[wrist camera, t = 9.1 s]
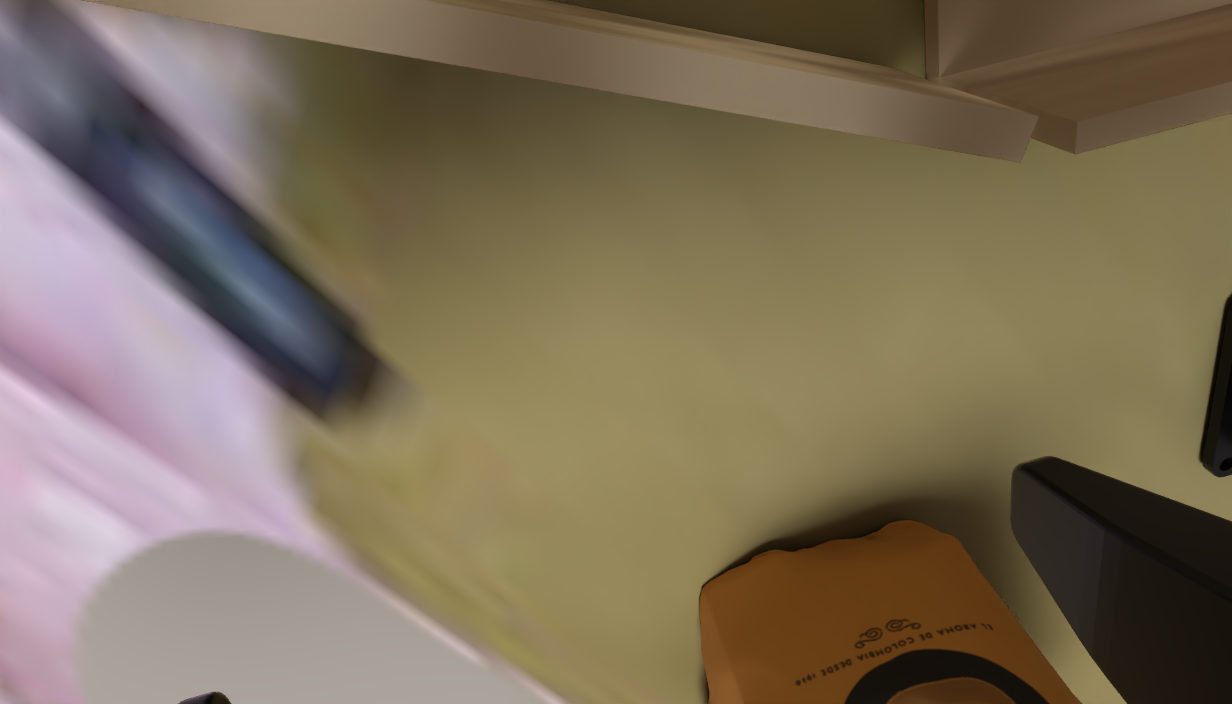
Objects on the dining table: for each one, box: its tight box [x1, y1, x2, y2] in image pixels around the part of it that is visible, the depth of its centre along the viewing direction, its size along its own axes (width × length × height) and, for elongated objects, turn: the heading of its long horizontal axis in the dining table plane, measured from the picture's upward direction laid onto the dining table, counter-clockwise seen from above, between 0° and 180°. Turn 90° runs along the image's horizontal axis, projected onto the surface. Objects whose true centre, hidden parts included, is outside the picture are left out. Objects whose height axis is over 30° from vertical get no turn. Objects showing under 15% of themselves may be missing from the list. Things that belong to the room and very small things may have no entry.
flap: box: [82, 0, 1039, 162], centre depth 15 cm, size 17×1×6 cm, turn 79°
